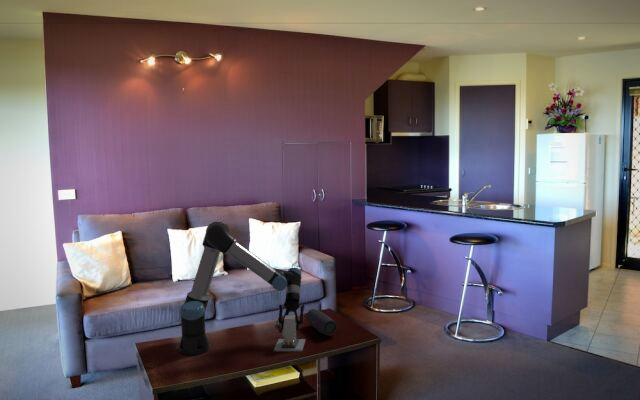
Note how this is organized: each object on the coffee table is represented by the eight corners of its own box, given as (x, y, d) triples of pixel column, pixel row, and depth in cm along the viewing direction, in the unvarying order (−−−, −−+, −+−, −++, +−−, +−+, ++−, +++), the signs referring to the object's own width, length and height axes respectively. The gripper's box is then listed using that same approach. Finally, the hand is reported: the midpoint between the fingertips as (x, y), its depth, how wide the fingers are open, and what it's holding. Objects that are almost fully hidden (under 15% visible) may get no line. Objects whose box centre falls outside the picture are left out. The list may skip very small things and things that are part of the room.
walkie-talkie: (274, 321, 307) (280, 332, 287) (274, 314, 306) (280, 325, 287) (289, 319, 309) (296, 331, 290) (289, 312, 308) (296, 323, 289)
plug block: (284, 341, 266) (284, 318, 265) (286, 337, 272) (285, 315, 271) (294, 342, 266) (293, 319, 265) (296, 337, 272) (295, 315, 270)
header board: (274, 351, 261) (274, 349, 261) (278, 340, 275) (278, 338, 275) (302, 351, 260) (302, 349, 260) (305, 341, 274) (305, 338, 273)
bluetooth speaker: (305, 326, 296) (304, 309, 295) (320, 323, 300) (319, 306, 299) (322, 339, 276) (321, 320, 275) (338, 336, 279) (337, 318, 278)
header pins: (281, 348, 262) (281, 340, 261) (282, 346, 263) (281, 339, 263) (295, 348, 261) (295, 340, 261) (295, 347, 263) (295, 339, 262)
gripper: (310, 298, 282) (307, 339, 267) (277, 298, 283) (272, 339, 269) (308, 291, 276) (306, 333, 261) (275, 291, 277) (270, 332, 263)
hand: (289, 336), depth 265 cm, fingers closed on plug block, 5 cm apart
